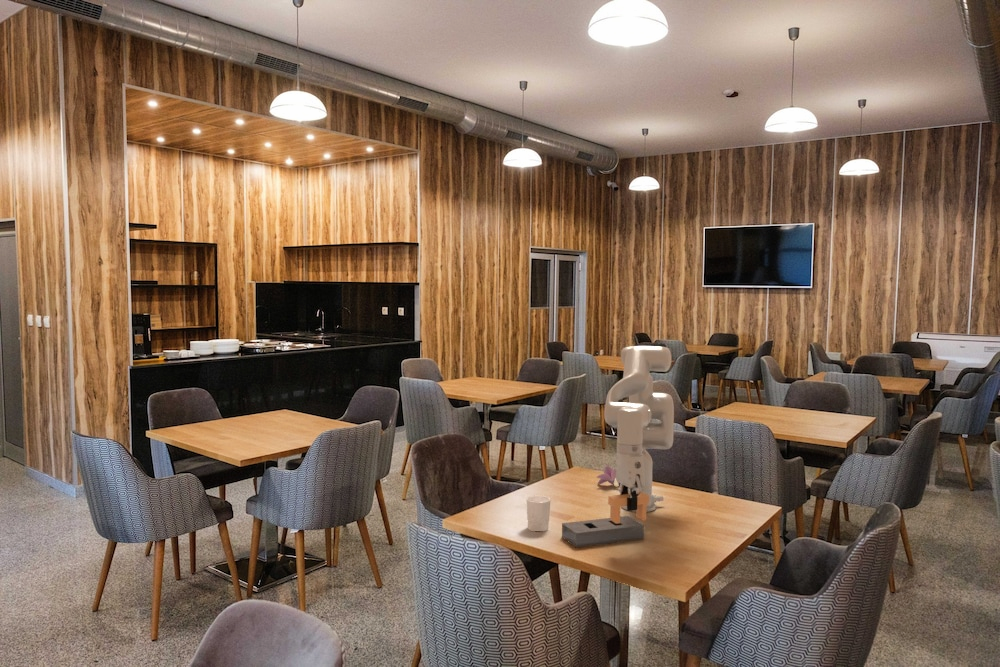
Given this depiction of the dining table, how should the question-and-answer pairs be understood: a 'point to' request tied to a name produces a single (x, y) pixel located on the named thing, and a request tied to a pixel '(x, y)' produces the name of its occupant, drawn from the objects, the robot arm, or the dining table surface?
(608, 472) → the lily
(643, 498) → the orange arch block
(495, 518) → the dining table surface
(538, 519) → the white cup
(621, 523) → the grey slotted block
